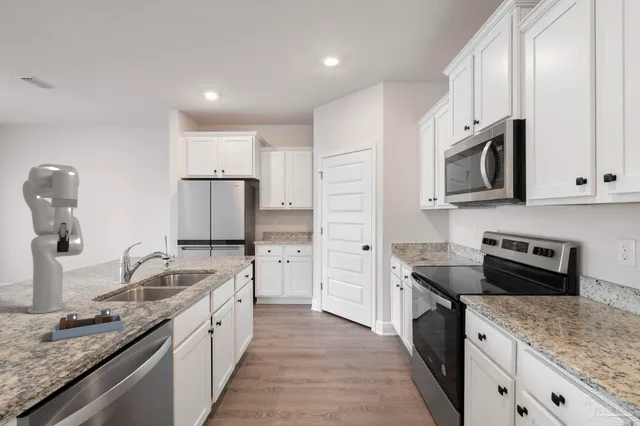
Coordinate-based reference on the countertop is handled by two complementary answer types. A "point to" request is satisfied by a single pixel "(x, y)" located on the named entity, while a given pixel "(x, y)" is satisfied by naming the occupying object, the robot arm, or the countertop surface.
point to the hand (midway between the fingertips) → (63, 250)
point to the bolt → (84, 322)
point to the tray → (88, 329)
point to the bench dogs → (103, 312)
